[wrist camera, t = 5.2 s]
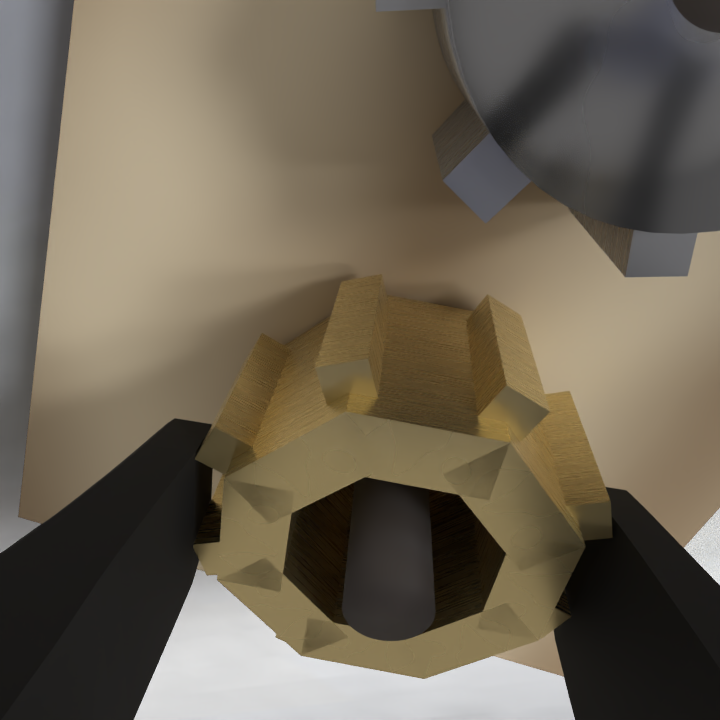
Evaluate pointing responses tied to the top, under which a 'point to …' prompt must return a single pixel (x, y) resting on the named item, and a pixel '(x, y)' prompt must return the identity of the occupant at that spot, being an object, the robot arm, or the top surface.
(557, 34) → the steel gear
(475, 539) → the brass gear
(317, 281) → the gear board
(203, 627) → the top surface
